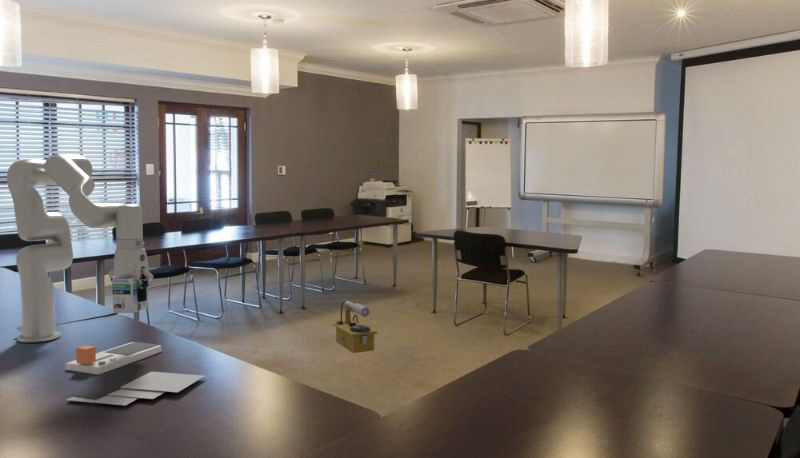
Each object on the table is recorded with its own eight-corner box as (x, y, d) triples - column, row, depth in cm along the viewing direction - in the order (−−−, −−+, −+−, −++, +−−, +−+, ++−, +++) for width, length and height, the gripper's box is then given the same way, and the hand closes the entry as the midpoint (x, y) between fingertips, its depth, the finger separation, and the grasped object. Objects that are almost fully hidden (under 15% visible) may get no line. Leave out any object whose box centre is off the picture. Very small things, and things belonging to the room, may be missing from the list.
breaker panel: (66, 369, 175) (65, 360, 175) (132, 348, 198) (131, 340, 198) (98, 374, 171) (97, 365, 170) (161, 351, 194) (161, 343, 194)
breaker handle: (76, 363, 173) (76, 347, 173) (85, 360, 176) (84, 345, 176) (87, 364, 172) (86, 349, 172) (95, 361, 175) (95, 346, 174)
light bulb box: (133, 313, 184) (132, 278, 183) (111, 313, 184) (111, 278, 183) (149, 306, 195) (148, 273, 194) (128, 306, 195) (128, 273, 194)
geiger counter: (352, 355, 192) (352, 308, 191) (325, 336, 215) (325, 294, 214) (378, 352, 196) (378, 306, 195) (348, 334, 219) (348, 293, 218)
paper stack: (156, 408, 147) (156, 405, 147) (65, 400, 151) (65, 397, 151) (205, 378, 170) (205, 375, 169) (125, 371, 174) (125, 369, 174)
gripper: (161, 244, 188) (162, 300, 190) (117, 242, 194) (118, 296, 196) (143, 246, 181) (144, 304, 183) (98, 244, 187) (99, 300, 189)
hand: (131, 299), depth 189 cm, fingers closed on light bulb box, 8 cm apart
